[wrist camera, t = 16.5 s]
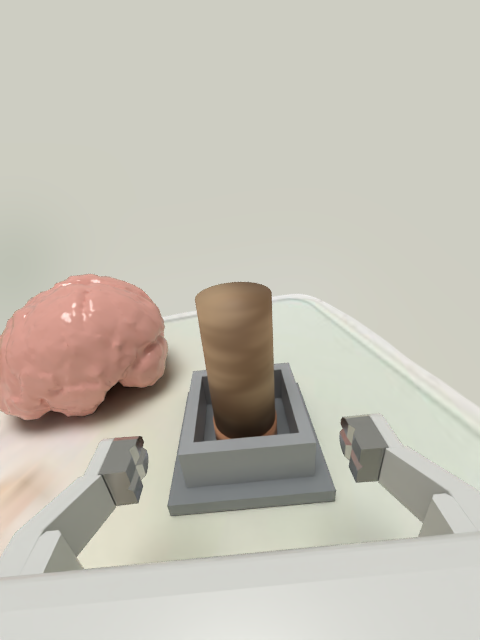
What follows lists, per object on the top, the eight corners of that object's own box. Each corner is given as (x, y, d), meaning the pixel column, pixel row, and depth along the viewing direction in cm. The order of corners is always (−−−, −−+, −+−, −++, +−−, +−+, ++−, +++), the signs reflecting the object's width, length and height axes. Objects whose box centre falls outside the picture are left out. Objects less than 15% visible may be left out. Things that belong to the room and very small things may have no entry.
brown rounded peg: (215, 462, 19) (189, 315, 14) (216, 412, 23) (196, 285, 18) (282, 454, 19) (280, 306, 14) (271, 406, 23) (266, 278, 18)
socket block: (170, 515, 17) (156, 472, 15) (190, 400, 26) (182, 365, 24) (334, 500, 17) (339, 456, 15) (297, 391, 26) (298, 354, 24)
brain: (46, 481, 24) (-107, 400, 18) (73, 390, 35) (-16, 319, 29) (200, 379, 25) (106, 267, 19) (181, 320, 36) (116, 237, 30)
